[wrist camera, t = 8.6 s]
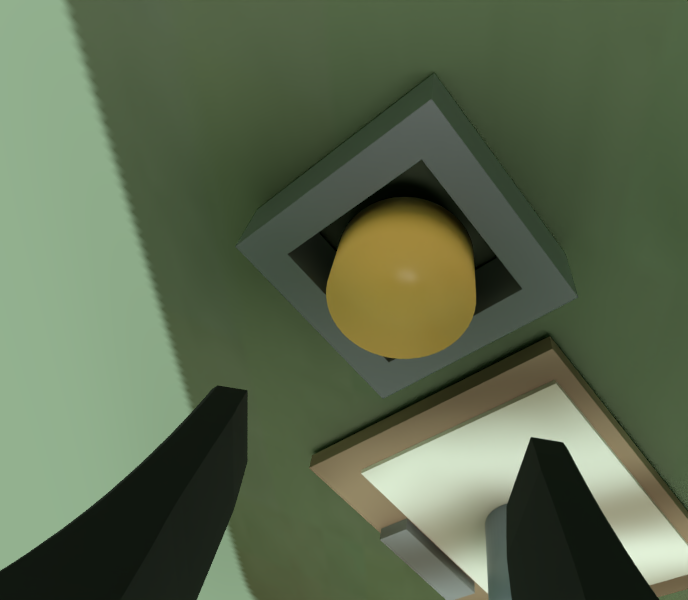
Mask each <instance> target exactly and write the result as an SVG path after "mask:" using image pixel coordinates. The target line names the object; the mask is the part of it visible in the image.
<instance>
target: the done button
mask: <svg viewBox="0 0 688 600" xmlns="http://www.w3.org/2000/svg"><path fill="white" fill-rule="evenodd" d="M326 299H327V305H328V309H329V312H330V314H331V317H332V319H333V321H334V322H335V324H336V325H337V327H338V328H339V329H340V331H341V332H342V333H343V334H344V335H345V336H346V337H347V338H348V339H349V340H351V341H352V342H353V343H355V344H356V345H357V346H359V347H361V348H363V349H364V350H367V351H369V352H371V353H374V354H377V355H380V356H384V357H389V358H396V359H412V358H420V357H425V356H429V355H432V354H435V353H437V352H439V351H441V350H444V349H445V348H447V347H448V346H450V345H451V344H453V343H454V342H455V341H456V340H458V339H459V338H460V337H461V335H462V334H463V333H464V332H465V331H466V329H467V328H468V326H469V324H470V322H471V320H472V318H473V315H474V312H475V306H476V285H475V265H474V251H473V245H472V242H471V239H470V236H469V234H468V232H467V230H466V229H465V227H464V226H463V224H462V223H461V222H460V221H459V220H458V219H457V218H456V217H455V216H454V215H453V214H452V213H451V212H449V211H448V210H446V209H445V208H443V207H442V206H440V205H438V204H435V203H433V202H430V201H427V200H424V199H419V198H414V197H395V198H389V199H385V200H381V201H378V202H376V203H373V204H371V205H369V206H368V207H366V208H364V209H363V210H361V211H360V212H359V213H358V214H356V215H355V216H354V218H353V219H352V220H351V221H350V222H349V224H348V225H347V226H346V228H345V230H344V232H343V234H342V237H341V240H340V243H339V246H338V249H337V252H336V255H335V259H334V262H333V265H332V268H331V271H330V275H329V278H328V281H327V287H326Z"/></svg>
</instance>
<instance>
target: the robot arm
mask: <svg viewBox="0 0 688 600" xmlns="http://www.w3.org/2000/svg"><path fill="white" fill-rule="evenodd" d="M246 465H247V390H242V389H235V388H229V387H223V386H216V387H215V388H213V389H212V390H211V391H210V392H209V393H208V395H207V396H206V397H205V398H204V399H203V400H202V401H201V402H200V404H199V405H198V406H197V407H196V408H195V409H194V410H193V411H192V412H191V414H190V415H189V416H188V417H187V418H186V419H185V420H184V421H183V422H182V423H181V424H180V425H179V426H178V427H177V428H176V429H175V431H174V432H173V433H172V434H171V435H170V436H169V437H168V438H167V439H166V440H165V441H164V442H163V443H162V444H160V445H159V446H158V447H157V449H155V450H154V451H153V453H152V454H150V455H149V456H148V457H147V458H146V459H145V460H144V461H143V462H142V463H141V464H140V465H139V466H138V467H137V468H135V469H134V470H133V471H132V472H131V473H130V474H129V475H128V476H126V477H125V478H124V479H123V480H122V481H121V482H120V483H119V484H117V485H116V486H115V487H114V488H113V489H112V490H111V491H109V492H108V493H107V494H106V495H105V496H104V497H103V498H101V499H100V500H99V501H97V502H96V503H95V504H94V505H93V506H91V507H90V508H89V509H88V510H86V511H85V512H84V513H83V514H81V515H80V516H78V517H77V518H76V519H75V520H73V521H72V522H71V523H69V524H68V525H67V526H65V527H64V528H63V529H62V530H60V531H59V532H57V533H56V534H54V535H53V536H51V537H50V538H49V539H47V540H46V541H44V542H43V543H41V544H40V545H39V546H37V547H36V548H34V549H33V550H31V551H30V552H29V553H27V554H26V555H24V556H23V557H21V558H20V559H18V560H17V561H15V562H14V563H12V564H10V565H9V566H7V567H6V568H4V569H2V570H1V571H0V600H197V598H198V595H199V593H200V590H201V588H202V586H203V583H204V580H205V578H206V576H207V574H208V571H209V569H210V566H211V564H212V561H213V559H214V557H215V554H216V552H217V549H218V547H219V544H220V542H221V540H222V537H223V535H224V532H225V530H226V527H227V525H228V522H229V520H230V517H231V515H232V512H233V510H234V507H235V503H236V500H237V497H238V493H239V490H240V486H241V483H242V479H243V475H244V472H245V468H246ZM506 543H507V564H508V573H509V581H510V590H511V598H512V600H659V598H658V597H657V596H656V594H655V593H654V591H653V590H652V588H651V587H650V585H649V584H648V583H647V581H646V580H645V578H644V577H643V575H642V574H641V572H640V571H639V569H638V568H637V566H636V565H635V563H634V562H633V560H632V559H631V557H630V556H629V554H628V553H627V551H626V550H625V548H624V546H623V545H622V543H621V541H620V540H619V538H618V537H617V535H616V533H615V532H614V530H613V528H612V527H611V525H610V524H609V522H608V520H607V519H606V517H605V515H604V514H603V512H602V510H601V509H600V507H599V505H598V503H597V502H596V500H595V498H594V496H593V495H592V493H591V491H590V489H589V487H588V486H587V484H586V482H585V480H584V478H583V477H582V475H581V473H580V471H579V469H578V467H577V465H576V464H575V462H574V460H573V458H572V456H571V454H570V452H569V450H568V449H567V447H566V446H565V444H564V443H563V442H559V441H553V440H546V439H540V438H534V437H531V438H530V441H529V444H528V446H527V449H526V452H525V455H524V458H523V461H522V463H521V466H520V469H519V472H518V475H517V478H516V480H515V483H514V486H513V489H512V492H511V495H510V497H509V500H508V503H507V506H506Z"/></svg>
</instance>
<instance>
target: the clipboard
mask: <svg viewBox="0 0 688 600" xmlns="http://www.w3.org/2000/svg"><path fill="white" fill-rule="evenodd" d="M531 437H534V438H540V439H546V440H553V441H559V442H563V443H564V444H565V446H566V447H567V449H568V450H569V452H570V454H571V456H572V458H573V460H574V462H575V464H576V465H577V467H578V469H579V471H580V473H581V475H582V477H583V478H584V480H585V482H586V484H587V486H588V487H589V489H590V491H591V493H592V495H593V496H594V498H595V500H596V502H597V503H598V505H599V507H600V509H601V510H602V512H603V514H604V515H605V517H606V519H607V520H608V522H609V524H610V525H611V527H612V528H613V530H614V532H615V533H616V535H617V537H618V538H619V540H620V541H621V543H622V545H623V546H624V548H625V550H626V551H627V553H628V554H629V556H630V557H631V559H632V560H633V562H634V563H635V565H636V566H637V568H638V569H639V571H640V572H641V574H642V575H643V577H644V578H645V580H646V581H647V583H648V584H649V585H650V587H651V588H652V590H653V591H654V593H655V594H656V596H657V597H660V596H664V595H668V594H671V593H675V592H678V591H682V590H686V589H688V511H687V510H686V509H685V507H684V506H683V505H682V504H681V502H680V501H679V500H678V498H677V497H676V496H675V495H674V493H673V492H672V491H671V490H670V488H669V487H668V486H667V484H666V483H665V482H664V481H663V479H662V478H661V477H660V476H659V474H658V473H657V472H656V470H655V469H654V468H653V467H652V465H651V464H650V463H649V462H648V460H647V459H646V458H645V456H644V455H643V454H642V453H641V451H640V450H639V449H638V448H637V446H636V445H635V444H634V442H633V441H632V440H631V439H630V437H629V436H628V435H627V434H626V432H625V431H624V430H623V428H622V427H621V426H620V425H619V423H618V422H617V421H616V420H615V418H614V417H613V416H612V414H611V413H610V412H609V411H608V409H607V408H606V407H605V406H604V404H603V403H602V402H601V400H600V399H599V398H598V397H597V395H596V394H595V393H594V392H593V390H592V389H591V388H590V386H589V385H588V384H587V383H586V381H585V380H584V379H583V378H582V376H581V375H580V374H579V372H578V371H577V370H576V369H575V367H574V366H573V365H572V364H571V362H570V361H569V360H568V358H567V357H566V356H565V355H564V353H563V352H562V351H561V350H560V348H559V347H558V346H557V344H556V343H555V342H554V341H553V339H552V338H551V337H550V336H549V337H547V338H545V339H543V340H541V341H539V342H537V343H535V344H533V345H531V346H529V347H527V348H525V349H523V350H521V351H519V352H517V353H515V354H513V355H511V356H509V357H507V358H505V359H503V360H501V361H499V362H497V363H495V364H493V365H491V366H489V367H487V368H485V369H483V370H481V371H479V372H477V373H475V374H473V375H472V376H470V377H468V378H466V379H464V380H462V381H460V382H458V383H456V384H454V385H452V386H450V387H448V388H446V389H444V390H442V391H440V392H438V393H436V394H434V395H432V396H430V397H428V398H426V399H424V400H422V401H420V402H418V403H416V404H414V405H412V406H410V407H408V408H406V409H404V410H402V411H400V412H398V413H396V414H394V415H392V416H390V417H388V418H386V419H384V420H382V421H380V422H378V423H376V424H374V425H372V426H370V427H368V428H366V429H364V430H362V431H360V432H358V433H356V434H354V435H352V436H350V437H348V438H346V439H344V440H342V441H340V442H338V443H336V444H334V445H332V446H330V447H328V448H326V449H324V450H322V451H320V452H318V453H316V454H314V455H312V459H311V463H310V467H309V468H310V469H311V470H312V471H313V472H314V473H315V474H316V475H317V476H319V477H320V478H321V479H322V480H323V481H324V482H325V483H326V484H327V485H328V486H330V487H331V488H332V489H333V490H334V491H335V492H336V493H337V494H338V495H339V496H341V497H342V498H343V499H344V500H345V501H346V502H347V503H348V504H349V505H350V506H351V507H353V508H354V509H355V510H356V511H357V512H358V513H359V514H360V515H361V516H362V517H364V518H365V519H366V520H367V521H368V522H369V523H370V524H371V525H372V526H373V527H374V528H376V529H377V530H378V531H379V532H380V533H381V535H380V540H381V541H382V542H383V543H384V544H385V545H386V546H387V547H389V548H390V549H391V550H392V551H393V552H394V553H395V554H396V555H397V556H398V557H400V558H401V559H402V560H403V561H404V562H405V563H406V564H407V565H408V566H409V567H411V568H412V569H413V570H414V571H415V572H416V573H417V574H418V575H419V576H421V577H422V578H423V579H424V580H425V581H426V582H427V583H428V584H429V585H430V586H432V587H433V588H434V589H435V590H436V591H437V592H438V593H439V594H440V595H441V596H443V597H444V598H445V599H446V600H488V578H487V556H486V535H485V522H486V519H487V517H488V515H489V514H490V513H491V512H492V511H493V510H494V509H496V508H498V507H500V506H502V505H505V504H507V503H508V500H509V497H510V495H511V492H512V489H513V486H514V483H515V480H516V478H517V475H518V472H519V469H520V466H521V463H522V461H523V458H524V455H525V452H526V449H527V446H528V444H529V441H530V438H531Z"/></svg>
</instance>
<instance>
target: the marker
mask: <svg viewBox="0 0 688 600" xmlns="http://www.w3.org/2000/svg"><path fill="white" fill-rule="evenodd" d="M506 506H507V504H505V505H502V506H500V507H498V508H496V509H494V510H493V511H492V512H491V513H490V514H489V515H488V517H487V519H486V522H485V535H486V556H487V578H488V600H512V598H511V590H510V581H509V573H508V564H507V543H506Z"/></svg>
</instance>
